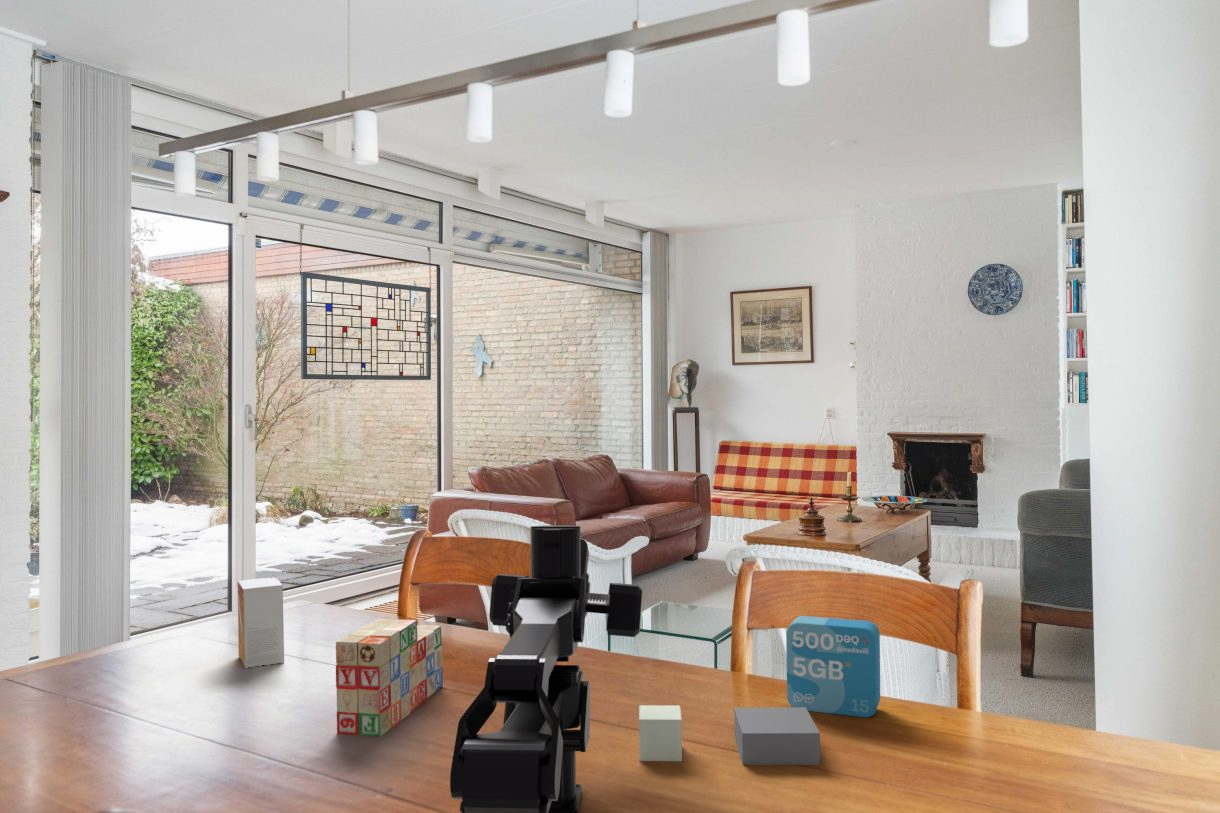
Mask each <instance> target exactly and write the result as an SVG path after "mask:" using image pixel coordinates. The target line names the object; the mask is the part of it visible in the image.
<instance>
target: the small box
mask: <svg viewBox="0 0 1220 813" xmlns="http://www.w3.org/2000/svg"><path fill="white" fill-rule="evenodd" d="M283 590H284V587H283V584H282V582H280V580H278V578H277V577H276V576H275V577H261V578H253V579H252V578H251V579H243V580H237V621H238V622H237V624H238V625H237V626H238V629H237V630H238V632H237V636H238V637H237V638H238V657H239V659H240V660H241V662H242V665H243V667H244V669H249V668H248V667H252V668H256V667H255V666H259V667H263V666H262V665H266V666H271V665H270V664H274V665H278V664H277V663H280V664H284V663H285V639H284V638H285V636H284V634H285V632H284V627H285V626H284V591H283ZM283 662H284V663H283Z"/></svg>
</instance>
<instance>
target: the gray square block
mask: <svg viewBox="0 0 1220 813" xmlns="http://www.w3.org/2000/svg"><path fill="white" fill-rule="evenodd" d="M733 715H734V716H733V717H734V721H733V724H734V740H735V743H736V746H737V750H738V753H739V756H740V760H741V763H742V765H743V766H747V765H748V766H750V765H751V766H752V765H753V766H756V765H757V766H760V765H761V766H763V765H764V766H765V765H766V766H770V765H771V766H772V765H773V766H774V765H776V766H778V765H779V766H783V765H788V766H792V765H793V766H794V765H795V766H799V765H802V766H808V765H810V766H813V765H814V766H815V765H816V766H817V765H821V732H820V731H819V729H818V727H817V725H816V724H815V722H814V719H813V718H812V717H811V716H812V715H811V714H810V711H808V710H807V709H806V707H792V706H790V707H789V706H788V707H785V706H784V707H781V706H780V707H776V706H775V707H773V706H772V707H767V706H766V707H763V706H761V707H734V710H733Z"/></svg>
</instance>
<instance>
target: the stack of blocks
mask: <svg viewBox="0 0 1220 813" xmlns="http://www.w3.org/2000/svg"><path fill="white" fill-rule="evenodd" d="M335 661H336V662H335V664H336V665H335V687H336V733H337V735H350V736H351V735H352V736H369V737H382V736H383V735H384V734H386V733H387V732H388V731H389V730H391V729H393V728H394V727H395V726H396V725H398V723H400V722H401V721H403V720H404V719H405V718H406V717H408V716H409V715H410V713H412V712H413V711H414V710H415V709H416V708H417V707H419V705H421V704H422V703H423V702H424V701H426V700H427V699H429V697H431V696H432V695H433V694H434V693H436V692H437V691H438V690H439V689H440V688H442V687H443V684H444V683H443V682H444V681H443V680H444V679H443V672H444V671H443V665H444V664H443V662H444V661H443V645H442V626H441V625H437V624H436V625H433V624H432V625H430V624H418V620H417V619H394V618H393V619H388V618H376V619H375V620H372V621H371V622H369V623H368V624H365V625H364V626H361V627H360V628H358V629H356V630H355V631H353V632H351V633H350V634H348V635H345V636H343V637H341V638H340V639H338V640H336V641H335Z"/></svg>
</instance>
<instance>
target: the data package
mask: <svg viewBox="0 0 1220 813" xmlns="http://www.w3.org/2000/svg"><path fill="white" fill-rule="evenodd" d="M785 635H786V636H785V638H786V641H785V643H786V647H785V648H786V649H785V650H786V654H785V657H786V699H787V702H788V704H789V705H790V707H806V709H807V710H808V712H815V713H823V714H832V715H840V716H848V717H856V718H870V717H872V716H874V714H876V712H877V709H878V707H879V704H880V701H881V642H880V641H881V640H880V639H881V635H880V629H879V627H878V626H877V625H876V624H875V623H874V622H872V621H870V620H869V621H868V620H860V619H859V620H858V619H847V618H835V617H821V616H820V617H819V616H807V615H801V616H798V617H796V618H795V619H794V620H793V621H792V622H791V623H790V624H789V625H788V627H787V628H786V633H785Z"/></svg>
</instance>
